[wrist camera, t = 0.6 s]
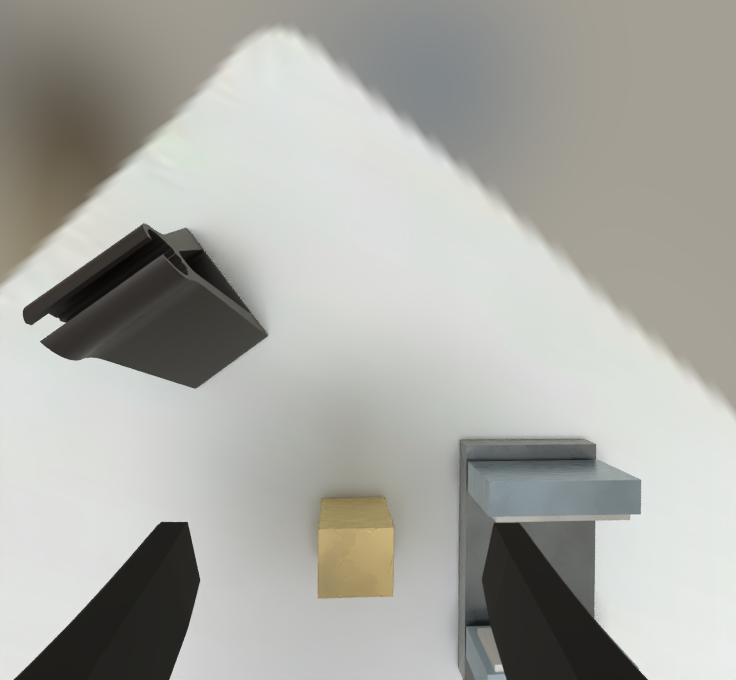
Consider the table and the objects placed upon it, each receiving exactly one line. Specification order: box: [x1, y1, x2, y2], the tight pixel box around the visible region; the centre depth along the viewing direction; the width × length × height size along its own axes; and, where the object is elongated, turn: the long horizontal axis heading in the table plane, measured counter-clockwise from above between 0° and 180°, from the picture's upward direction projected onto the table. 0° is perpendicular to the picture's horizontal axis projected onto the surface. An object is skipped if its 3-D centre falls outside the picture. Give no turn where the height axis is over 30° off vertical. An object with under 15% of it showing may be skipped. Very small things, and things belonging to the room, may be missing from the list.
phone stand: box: [23, 224, 268, 389], centre depth 24 cm, size 9×6×12 cm, turn 36°
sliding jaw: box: [466, 626, 639, 680], centre depth 27 cm, size 2×9×4 cm, turn 90°
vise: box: [458, 439, 641, 680], centre depth 28 cm, size 16×9×6 cm, turn 179°
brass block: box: [318, 497, 394, 598], centre depth 28 cm, size 4×4×5 cm
